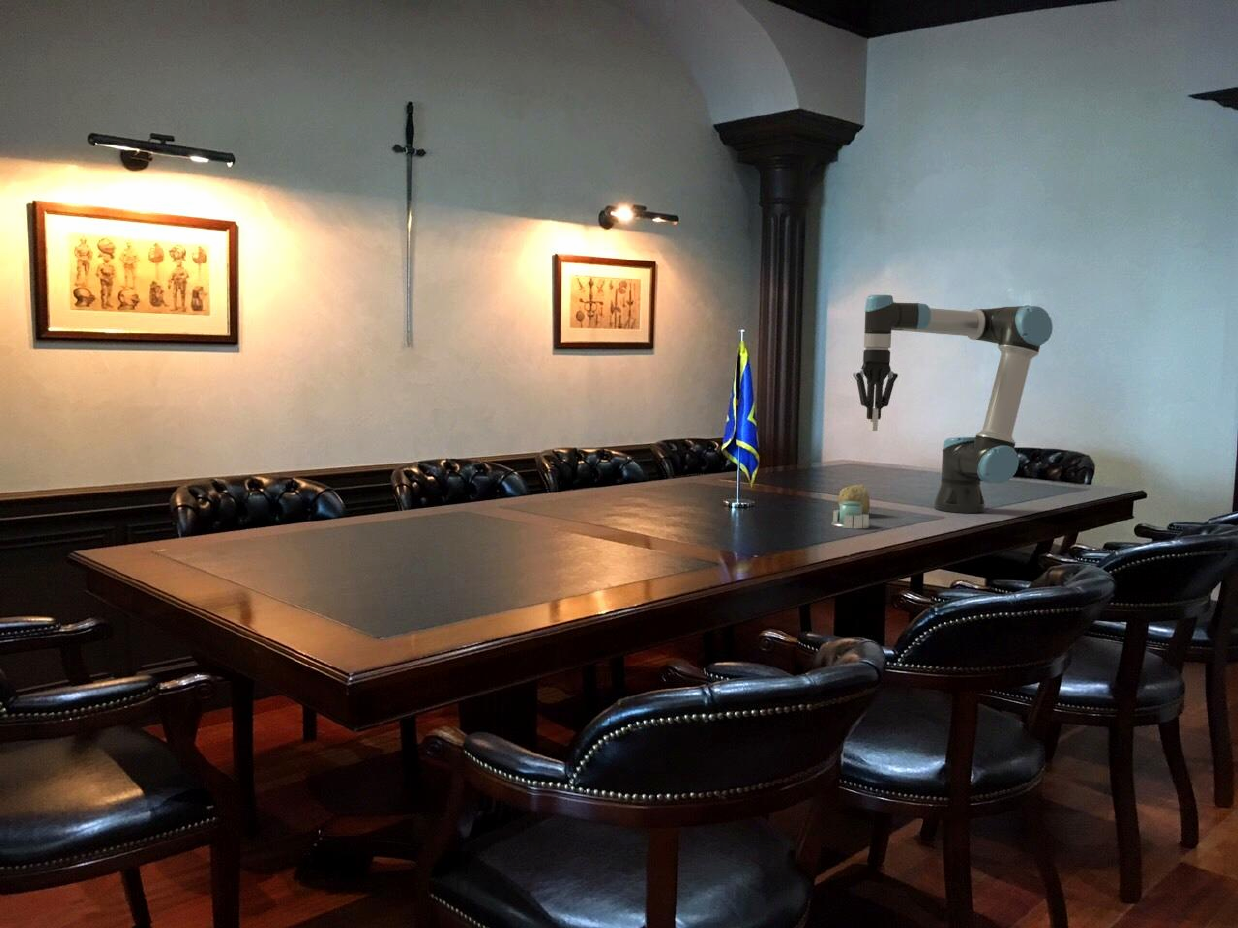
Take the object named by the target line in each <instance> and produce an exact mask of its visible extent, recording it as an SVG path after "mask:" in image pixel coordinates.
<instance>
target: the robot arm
mask: <svg viewBox="0 0 1238 928" xmlns="http://www.w3.org/2000/svg"><path fill="white" fill-rule="evenodd" d="M865 300H866V301H865V307H864V335H863V336H864V337H863V347H864V348H865V349H864V350H863V355H862V366H861V369H860V370H859V371H857V372H854V373H853V377H854V380H856V385H857V391H858V396H859V401H860V405H861V406H864V408H866V419H867V420H869V421H868V431H871V432H878V426H879V420H881V418H882V409H883V408H885V407H888V406H889V402H890V399H891V395H892V391H893V388H894V385H895V381H896V380H897V379H898V377H899V374H898V373H895V372H894V371H892V368H891V366H890V363H891V351H890V350H889V349H890V348H891V344H892V343H891V342H892V341H891V340H892V331H900V332H915V333H926V334H927V333H928V334H937V335H938V334H939V335H952V336H963V337H964V336H965V337H967V338H969V339H970V340H973V341H979V342H980V341H981V342H986V343H987V342H988V343H991V344H995V345H996V344H998V346H997V348H998V349H999V351H1000V353H1001V355H1000V358H999V363H998V366H997V371H996V375H995V379H994V381H993V382H994V383H993V386H992V389H991V396H990V398H989V402H988V407H987V411H986V414H985V418H984V422H983V426H982V430H980V431H979V432H977V433H976V434H975V436H964V437H963V436H961V437H960V436H959V437H958V436H957V437H948V438H946V439H945V440H944V442H943V447H942V465H941V485H940V487H939V490H938V492H937V495H936V497H935V499H934V504H933V505H934V507H933V508H934V509H935V510H937V511H942V512H948V513H961V514H976V513H977V514H978V513H980V514H981V513H983V512H985V507H986V505H985V504H986V503H985V499H984V497H983V493H982V490H981V482H984V483H987V484H997V485H998V484H1003V483H1006V482H1007V481H1009V480H1010V479H1013V478H1012V477H1013V476H1015V474H1016V473H1017V471H1018V467H1019V464H1020V458H1019V456H1018V452H1017V451H1016V450H1015V447H1016V441H1015V439H1014V438H1013V433H1014V429H1015V425H1016V422H1017V417H1018V413H1019V409H1020V405H1021V401H1022V398H1023V395H1024V394H1023V393H1024V389H1025V385H1026V380H1027V378H1028V377H1027V376H1028V374H1029V371H1030V370H1029V369H1030V365H1031V361H1032V359H1033V358H1034V357H1036V356H1038V355H1039V352H1040V349H1041V346H1042V345H1043V344H1046V343H1047V342H1048V341H1049V340H1050V339H1051V336H1052V335H1053V334H1052V333H1053V329H1054V328H1053V321H1052V318H1051V317H1050V314H1049V313H1048V311H1046V310H1045V309H1044V308H1043V307H1040V306H1037V305H1029V304H1027V305H1019V306H1002V307H995V308H984V309H983V308H974V309H972V310H971V311H968V310H958V309H957V310H956V309H943V308H931V307H930V306H929V305H927V304H926V303H920V302H894V297H893V295H891V294H870V295H868V296H867V297H866V299H865ZM864 377H865V379H866V386H867V387H866V386H865V380H864ZM886 378H887V380H886V384H885V379H886ZM884 384H885V388H884ZM866 389H867V390H866Z"/></svg>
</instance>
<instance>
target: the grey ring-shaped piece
mask: <svg viewBox="0 0 1238 928" xmlns="http://www.w3.org/2000/svg"><path fill="white" fill-rule="evenodd" d="M832 514H833V515H832V521H831V525H832V526H833V527H836V528H843V529H853V530H854V529H858V530H859V529H867V528H870V523H869V521H870V515H869V514H862V515H847V514H844V523H843V524H841V523H839V521H840V509H835V510H833V512H832Z"/></svg>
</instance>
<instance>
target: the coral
mask: <svg viewBox="0 0 1238 928" xmlns="http://www.w3.org/2000/svg"><path fill="white" fill-rule="evenodd" d="M842 501H856V502H860V503H861V505H862V514H866V515H868V513H869V511H870V504H871V502H870V495H869V492H868V489H866V487H865V486H864V485H863V484H862V483H861V484H854V485H850V486H848V485H847V486H846V487H844V488H843V489H841V490H840V492H839V495H838V506H839V508H840V504H841V503H842ZM862 514H861V515H862Z"/></svg>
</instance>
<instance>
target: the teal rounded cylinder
mask: <svg viewBox="0 0 1238 928" xmlns="http://www.w3.org/2000/svg"><path fill="white" fill-rule="evenodd" d="M839 510H840V521H839V523H841V524H843V523H844V514H847V515H861V514H862V505H861V503H860V502H856V501H842V503H841V504H840V507H839Z"/></svg>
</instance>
